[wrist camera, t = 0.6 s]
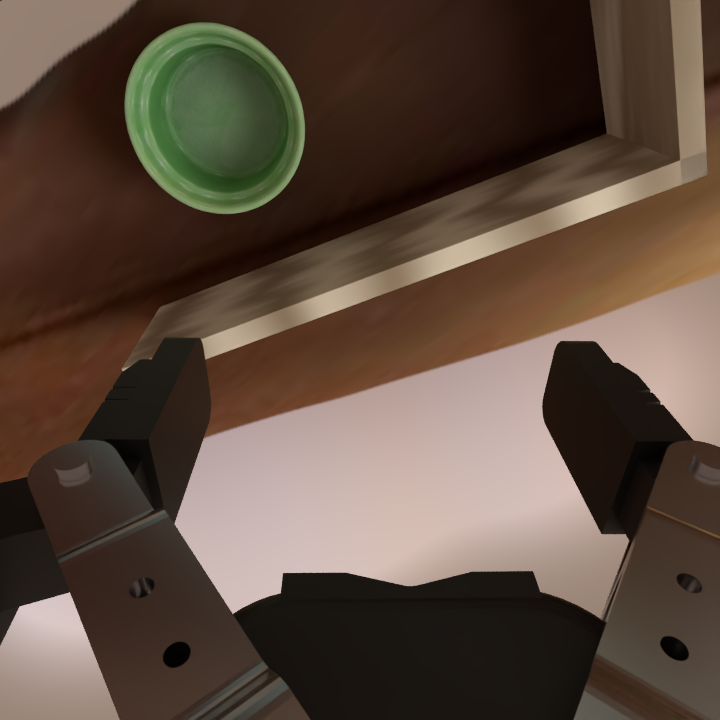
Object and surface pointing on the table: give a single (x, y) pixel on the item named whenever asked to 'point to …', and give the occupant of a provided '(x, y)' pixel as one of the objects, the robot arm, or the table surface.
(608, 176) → the wooden c-shaped frame
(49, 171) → the table surface
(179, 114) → the ramekin
